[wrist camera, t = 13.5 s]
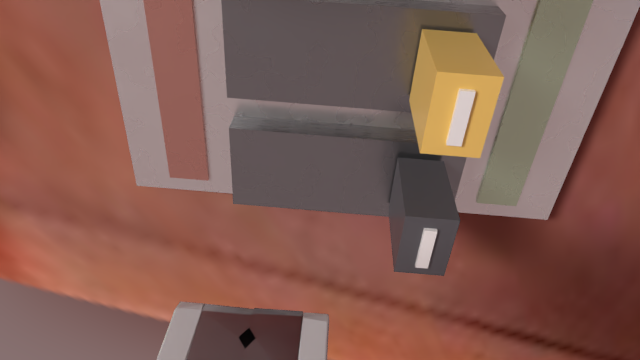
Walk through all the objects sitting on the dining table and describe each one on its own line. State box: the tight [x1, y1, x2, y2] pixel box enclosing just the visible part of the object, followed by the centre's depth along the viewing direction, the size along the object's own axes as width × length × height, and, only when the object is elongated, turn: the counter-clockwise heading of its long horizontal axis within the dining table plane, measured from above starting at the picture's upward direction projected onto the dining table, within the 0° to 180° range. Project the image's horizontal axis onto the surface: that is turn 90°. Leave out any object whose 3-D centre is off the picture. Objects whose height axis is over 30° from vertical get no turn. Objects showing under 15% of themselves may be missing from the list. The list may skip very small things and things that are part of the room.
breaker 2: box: [389, 158, 460, 276], centre depth 25 cm, size 4×2×5 cm
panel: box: [100, 0, 640, 220], centre depth 25 cm, size 20×26×3 cm
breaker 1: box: [409, 29, 504, 158], centre depth 21 cm, size 4×2×5 cm
